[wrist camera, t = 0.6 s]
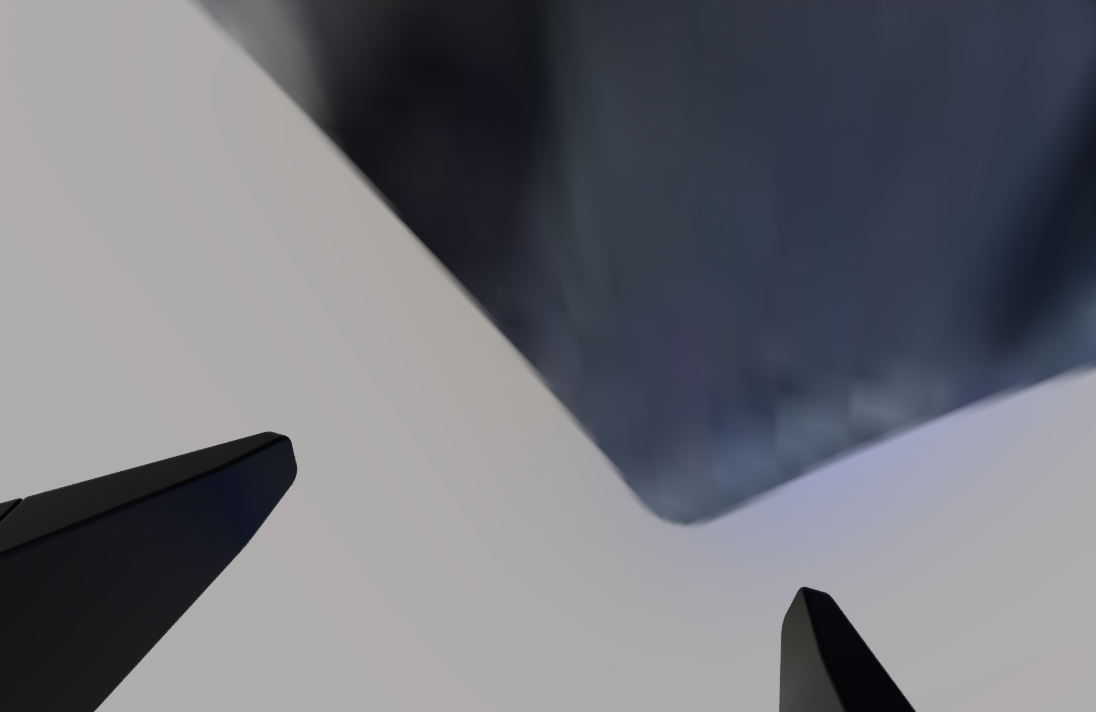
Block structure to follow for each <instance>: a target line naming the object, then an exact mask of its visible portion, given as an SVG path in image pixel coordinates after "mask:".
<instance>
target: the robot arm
mask: <svg viewBox="0 0 1096 712" xmlns="http://www.w3.org/2000/svg"><path fill="white" fill-rule="evenodd" d="M296 474H297V464H296V460H295V456H294V452H293V447H292V443H291V440H290V439H289V437H287V436H285V435H281V434H277V433H274V432H263V433H260V434H256V435H253V436H249V437H245V438H241V439H238V440H234V441H231V442H227V443H223V444H219V445H216V446H212V447H209V448H205V449H201V450H197V451H194V452H190V453H187V454H183V455H179V456H176V457H172V458H168V459H164V460H161V461H157V462H153V463H149V464H146V465H142V466H138V467H135V468H131V469H127V470H124V471H120V472H116V473H113V474H109V475H105V476H102V477H98V478H94V479H91V480H87V481H83V482H80V483H76V484H72V485H69V486H65V487H61V488H58V489H54V490H51V491H47V492H43V493H39V494H36V495H32V496H28V497H26V498H25V499H24V500H23V499H21V498H18V499H14V500H11V501H7V502H4V503H0V712H94V711H95V710H96V709H97V708H98V707H99V706H100V705H101V704H102V703H103V702H104V700H105V699H106V698H107V697H108V696H109V695H110V694H111V693H112V692H113V691H114V689H115V688H116V687H117V686H118V685H119V684H120V683H121V682H122V681H123V679H125V677H126V676H127V675H128V674H129V673H130V672H131V671H132V670H133V669H134V668H135V667H136V665H137V664H138V663H139V662H140V661H141V660H142V659H143V658H144V657H145V656H146V655H147V653H148V652H149V651H150V650H151V649H152V648H153V647H154V646H155V644H157V642H158V641H159V640H160V639H161V638H162V637H163V636H164V635H165V634H166V633H167V631H168V630H169V629H170V628H171V627H172V626H173V625H174V624H175V623H176V622H177V621H178V620H179V618H180V617H181V616H182V615H183V614H184V613H185V612H186V611H187V610H188V609H189V607H190V606H191V605H192V604H193V603H194V602H195V601H196V600H197V598H198V597H200V595H201V594H202V593H203V592H204V591H205V590H206V589H207V588H208V587H209V586H210V585H211V583H212V582H213V581H214V580H215V579H216V578H217V577H218V576H219V575H220V574H221V572H222V571H223V570H224V569H225V568H226V567H227V566H228V565H229V564H230V563H231V562H232V560H233V559H234V558H235V557H236V556H237V555H238V554H239V553H240V552H241V550H242V549H243V548H244V547H245V546H246V545H247V543H248V542H249V541H250V540H251V538H252V537H253V536H254V535H255V533H256V532H257V531H258V529H259V528H260V527H261V525H262V524H263V523H264V521H265V520H266V519H267V517H268V516H269V515H270V513H271V512H272V511H273V509H274V508H275V507H276V505H277V504H278V503H279V501H280V500H281V498H282V497H283V496H284V494H285V493H286V492H287V490H288V489H289V488H290V486H291V485H292V484H293V482H294V480H295V478H296ZM779 712H916V711H915V709H914V708H913V707H912V705H911V704H910V703H909V701H908V700H907V699H906V697H905V696H904V695H903V693H902V692H901V690H900V689H899V688H898V686H897V685H896V684H895V682H894V681H893V680H892V678H891V677H890V676H889V674H888V673H887V671H886V670H885V669H884V668H883V666H882V665H881V663H880V662H879V661H878V659H877V658H876V657H875V655H874V654H873V652H872V651H871V650H870V648H869V647H868V646H867V644H866V643H865V642H864V640H863V639H862V638H861V636H860V635H859V633H858V632H857V631H856V629H855V628H854V627H853V625H852V624H851V623H850V621H849V620H848V618H847V617H846V616H845V614H844V613H843V612H842V610H841V609H840V608H839V606H838V605H837V604H836V602H835V601H834V599H833V598H832V597H831V596H830V595H829V594H827V593H825V592H822V591H818V590H814V589H811V588H808V587H802V588H800V589H799V591H798V592H797V594H796V596H795V598H794V600H793V602H792V603H791V606H790V607H789V609H788V611H787V613H786V615H785V617H784V621H783V625H782V632H781V666H780V704H779Z"/></svg>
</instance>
